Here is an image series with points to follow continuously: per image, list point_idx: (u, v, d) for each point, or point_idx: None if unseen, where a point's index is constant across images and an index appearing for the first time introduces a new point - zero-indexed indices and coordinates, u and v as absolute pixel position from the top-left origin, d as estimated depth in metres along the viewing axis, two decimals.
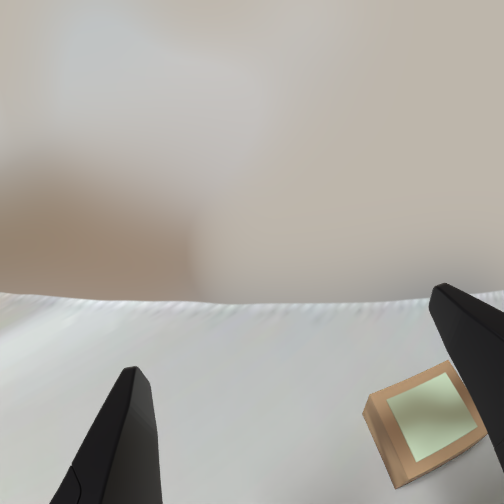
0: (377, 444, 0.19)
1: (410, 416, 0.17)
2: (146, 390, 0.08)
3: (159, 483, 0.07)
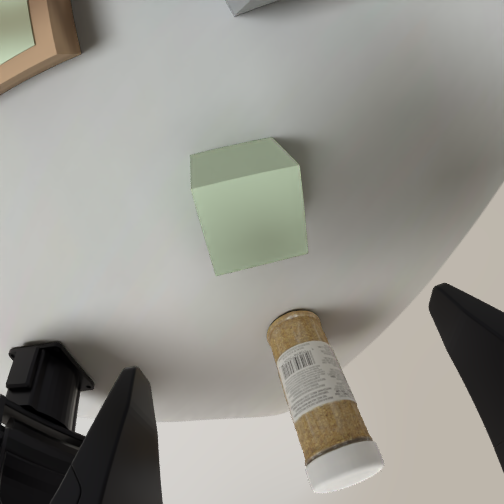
0: None
1: None
2: (146, 390, 0.08)
3: (159, 482, 0.07)
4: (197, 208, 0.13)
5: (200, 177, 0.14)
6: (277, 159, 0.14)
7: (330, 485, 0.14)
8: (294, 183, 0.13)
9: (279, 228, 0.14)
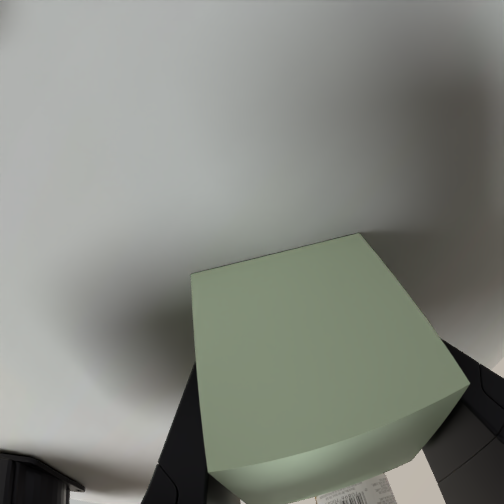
0: None
1: None
2: None
3: None
4: (225, 483, 0.05)
5: (226, 410, 0.05)
6: (412, 349, 0.05)
7: None
8: (443, 411, 0.05)
9: (384, 461, 0.06)
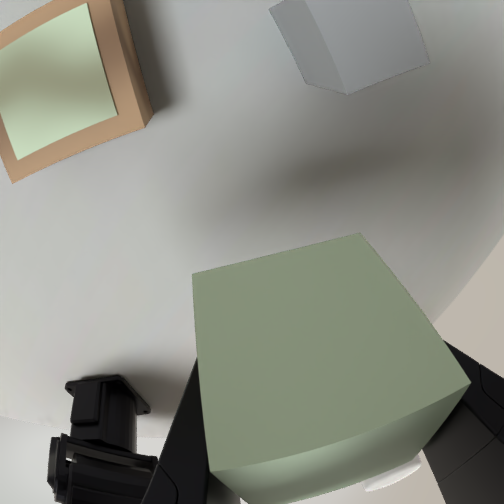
0: None
1: (11, 86, 0.09)
2: None
3: None
4: (227, 483, 0.05)
5: (228, 409, 0.05)
6: (413, 348, 0.05)
7: (380, 484, 0.16)
8: (444, 410, 0.05)
9: (385, 460, 0.06)
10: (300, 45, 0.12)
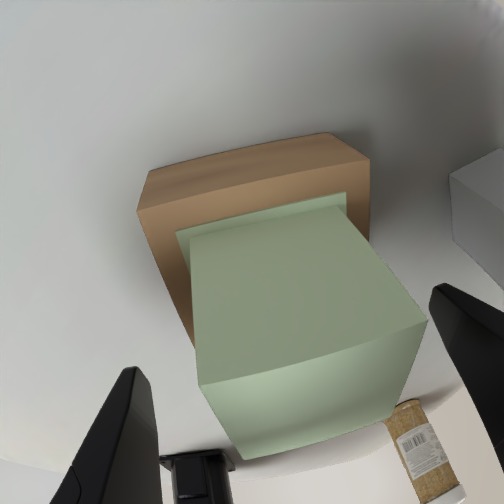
0: None
1: None
2: (146, 390, 0.08)
3: (159, 482, 0.07)
4: (213, 407, 0.06)
5: (215, 336, 0.06)
6: (376, 291, 0.06)
7: None
8: (408, 348, 0.06)
9: (360, 406, 0.07)
10: (473, 227, 0.14)
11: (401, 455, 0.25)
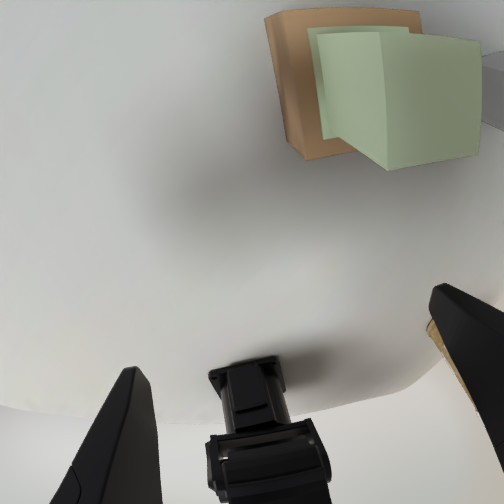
0: (276, 72, 0.15)
1: None
2: (146, 390, 0.08)
3: (159, 482, 0.07)
4: (383, 60, 0.07)
5: None
6: None
7: None
8: (476, 61, 0.08)
9: (460, 114, 0.09)
10: (490, 97, 0.15)
11: (450, 360, 0.27)
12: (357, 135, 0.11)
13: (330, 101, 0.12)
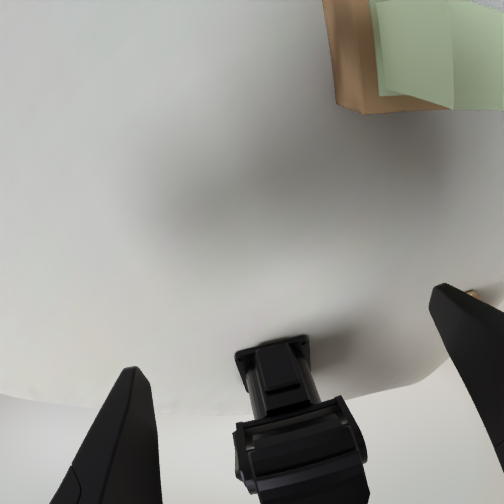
0: (330, 38, 0.14)
1: None
2: (146, 390, 0.08)
3: (159, 482, 0.07)
4: (449, 16, 0.07)
5: None
6: None
7: None
8: None
9: (503, 72, 0.08)
10: None
11: None
12: (419, 85, 0.11)
13: (388, 60, 0.12)
